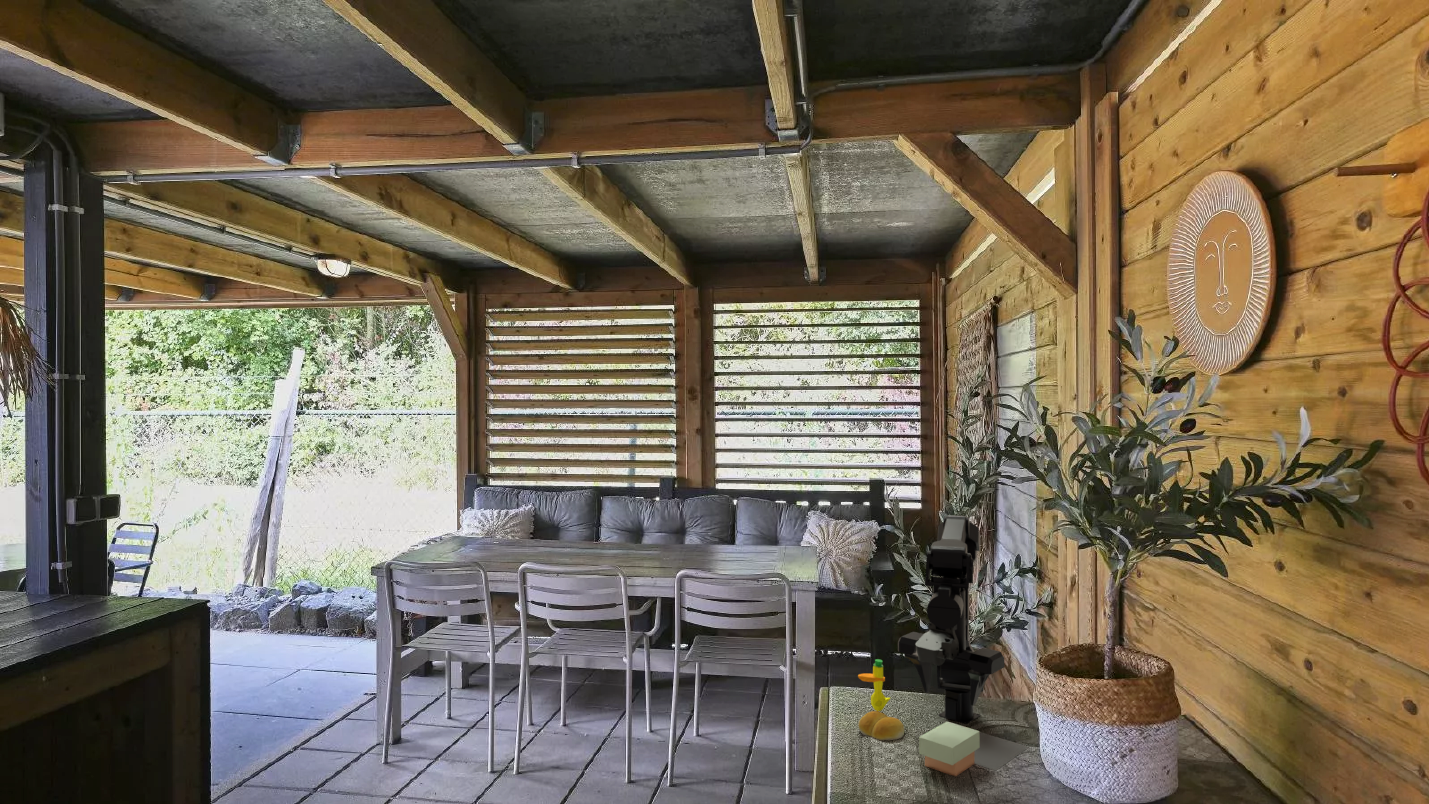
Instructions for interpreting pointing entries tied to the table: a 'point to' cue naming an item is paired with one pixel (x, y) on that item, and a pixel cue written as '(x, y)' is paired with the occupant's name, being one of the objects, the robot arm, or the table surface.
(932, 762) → the dish
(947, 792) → the table surface
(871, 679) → the toy figure
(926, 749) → the lid
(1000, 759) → the mat
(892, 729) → the bread roll
